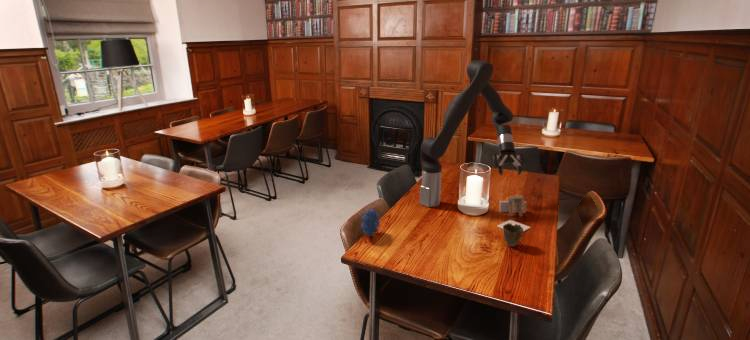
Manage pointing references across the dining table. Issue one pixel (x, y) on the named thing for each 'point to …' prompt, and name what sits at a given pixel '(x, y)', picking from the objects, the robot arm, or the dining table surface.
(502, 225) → the mat
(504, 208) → the block
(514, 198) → the stool
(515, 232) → the cup
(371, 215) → the grapes
